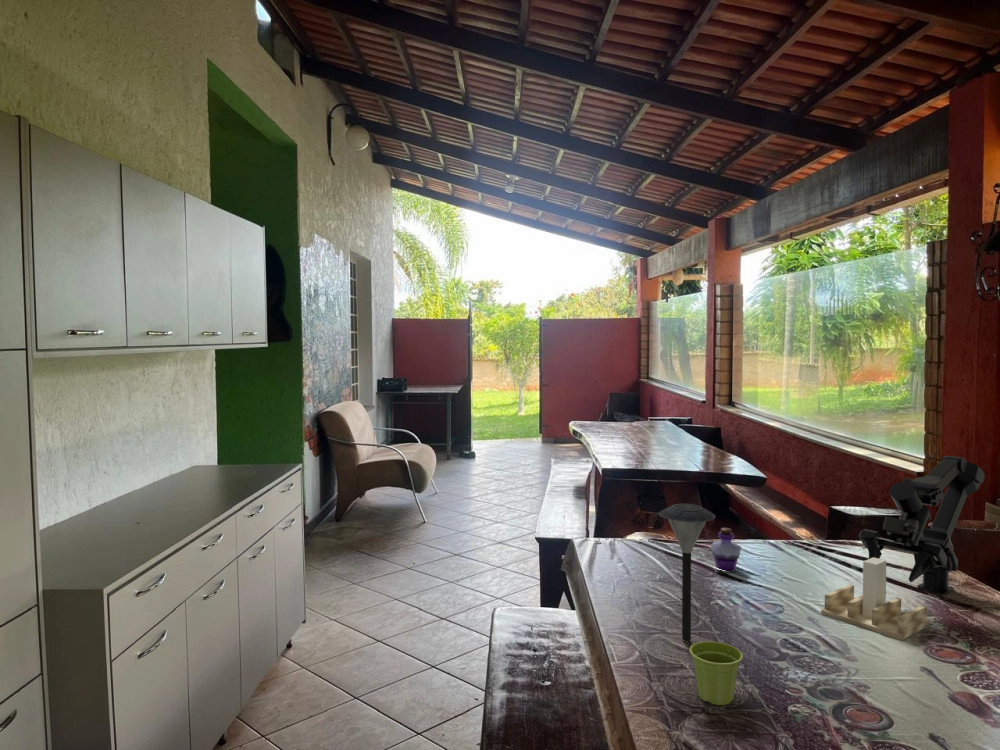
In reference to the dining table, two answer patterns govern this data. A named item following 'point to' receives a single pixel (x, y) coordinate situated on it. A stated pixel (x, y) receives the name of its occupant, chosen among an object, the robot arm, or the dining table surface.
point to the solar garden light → (686, 548)
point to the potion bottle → (726, 551)
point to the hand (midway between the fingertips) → (889, 575)
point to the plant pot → (716, 670)
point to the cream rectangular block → (873, 585)
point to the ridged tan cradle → (875, 614)
